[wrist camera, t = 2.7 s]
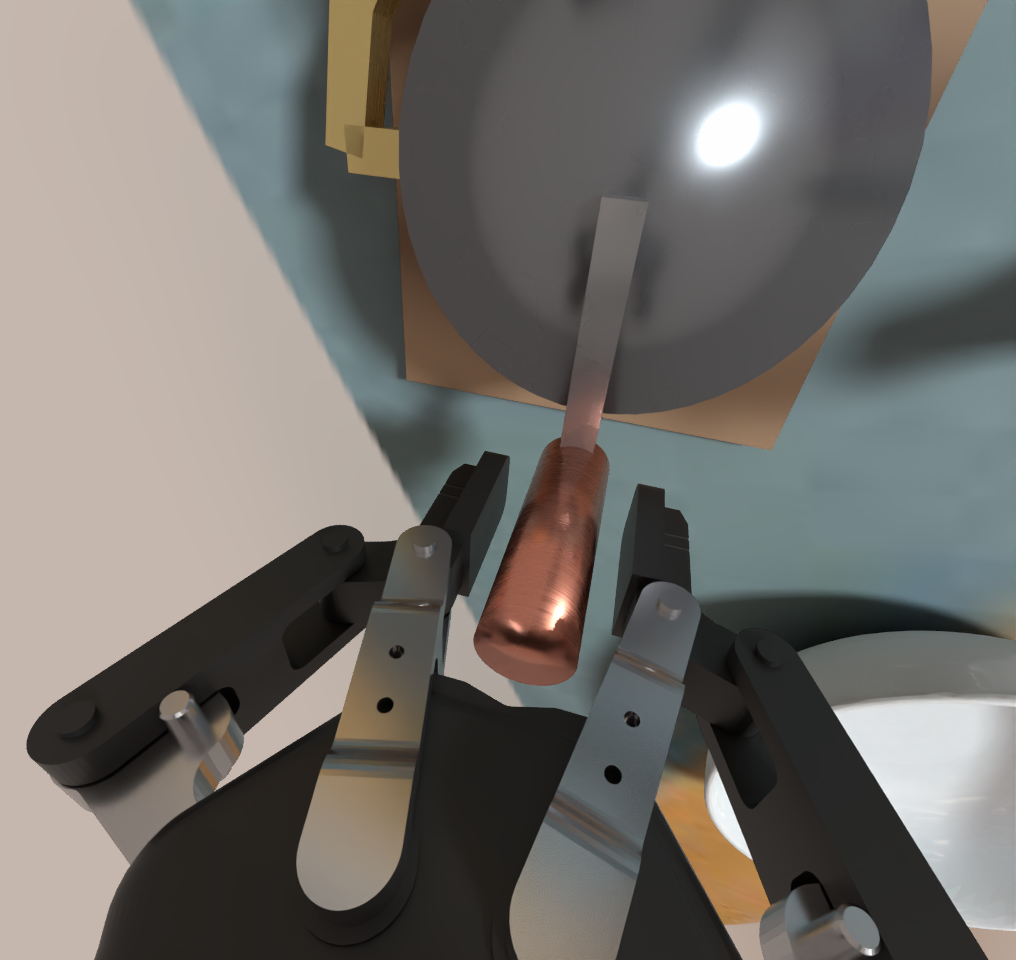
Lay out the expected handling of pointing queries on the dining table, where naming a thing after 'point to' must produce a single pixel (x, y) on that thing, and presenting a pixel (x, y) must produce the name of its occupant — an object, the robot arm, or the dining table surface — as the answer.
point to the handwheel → (629, 216)
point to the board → (728, 417)
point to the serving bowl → (928, 752)
